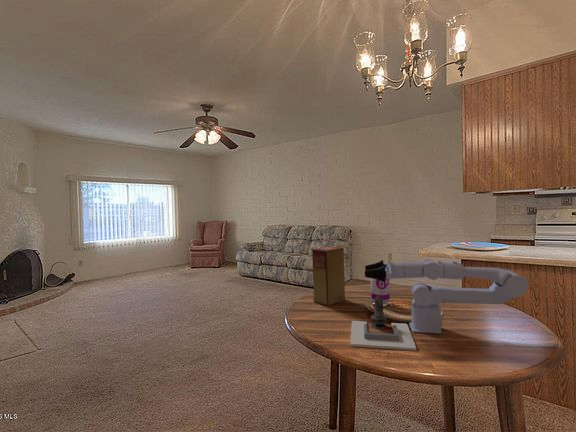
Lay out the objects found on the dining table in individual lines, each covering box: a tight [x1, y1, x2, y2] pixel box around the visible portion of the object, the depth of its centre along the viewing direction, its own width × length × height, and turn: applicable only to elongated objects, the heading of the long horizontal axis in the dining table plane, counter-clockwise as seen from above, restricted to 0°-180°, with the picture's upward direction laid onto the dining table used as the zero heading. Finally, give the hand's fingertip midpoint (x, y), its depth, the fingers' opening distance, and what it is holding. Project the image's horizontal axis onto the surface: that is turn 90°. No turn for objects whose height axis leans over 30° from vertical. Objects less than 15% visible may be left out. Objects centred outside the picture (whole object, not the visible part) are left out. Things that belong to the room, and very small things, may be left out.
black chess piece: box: [370, 294, 388, 330], centre depth 116 cm, size 6×6×12 cm
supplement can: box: [369, 278, 391, 304], centre depth 141 cm, size 8×8×15 cm
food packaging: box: [311, 246, 346, 307], centre depth 148 cm, size 13×9×25 cm
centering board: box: [349, 320, 417, 352], centre depth 108 cm, size 20×20×2 cm
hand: (365, 271), depth 117 cm, fingers open, 7 cm apart
